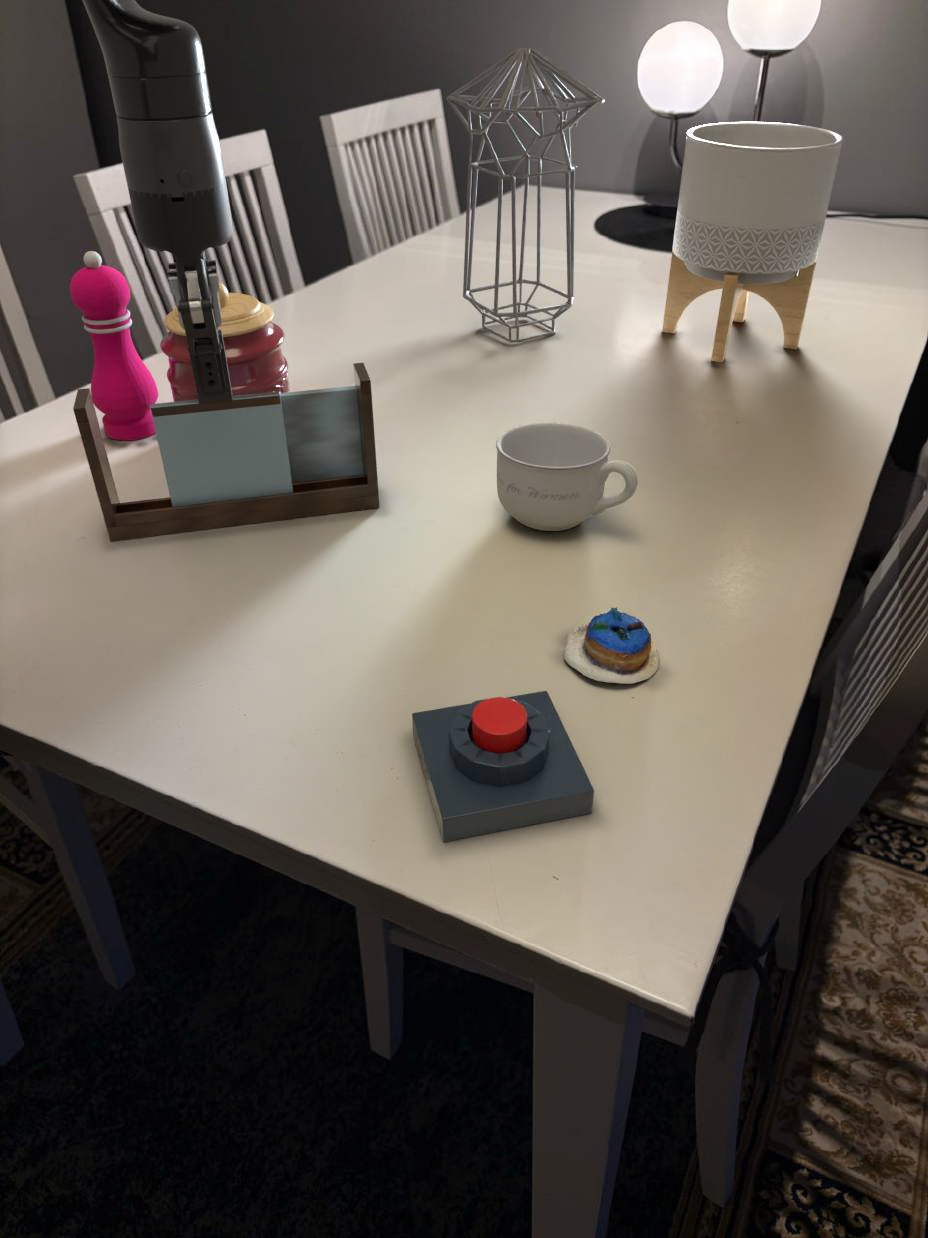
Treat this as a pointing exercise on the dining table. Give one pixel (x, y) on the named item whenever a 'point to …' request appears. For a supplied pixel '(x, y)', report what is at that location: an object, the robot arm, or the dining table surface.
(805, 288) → the planter
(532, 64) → the geometric lantern
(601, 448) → the teacup
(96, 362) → the pepper mill
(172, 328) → the kitchen canister
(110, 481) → the window frame
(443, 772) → the button box
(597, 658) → the dessert
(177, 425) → the window pane
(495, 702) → the button
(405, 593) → the dining table surface
